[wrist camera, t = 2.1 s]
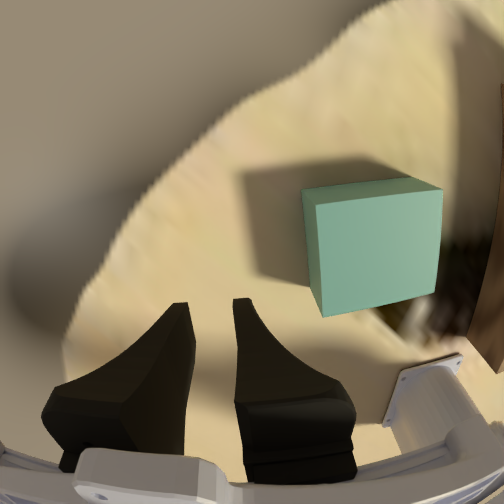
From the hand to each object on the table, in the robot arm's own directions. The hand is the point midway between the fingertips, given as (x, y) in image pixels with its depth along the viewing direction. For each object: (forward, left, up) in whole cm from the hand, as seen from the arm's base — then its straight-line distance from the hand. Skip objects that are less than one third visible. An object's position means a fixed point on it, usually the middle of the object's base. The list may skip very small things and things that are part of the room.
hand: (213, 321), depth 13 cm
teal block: (0, -10, -9) cm, 13 cm away
